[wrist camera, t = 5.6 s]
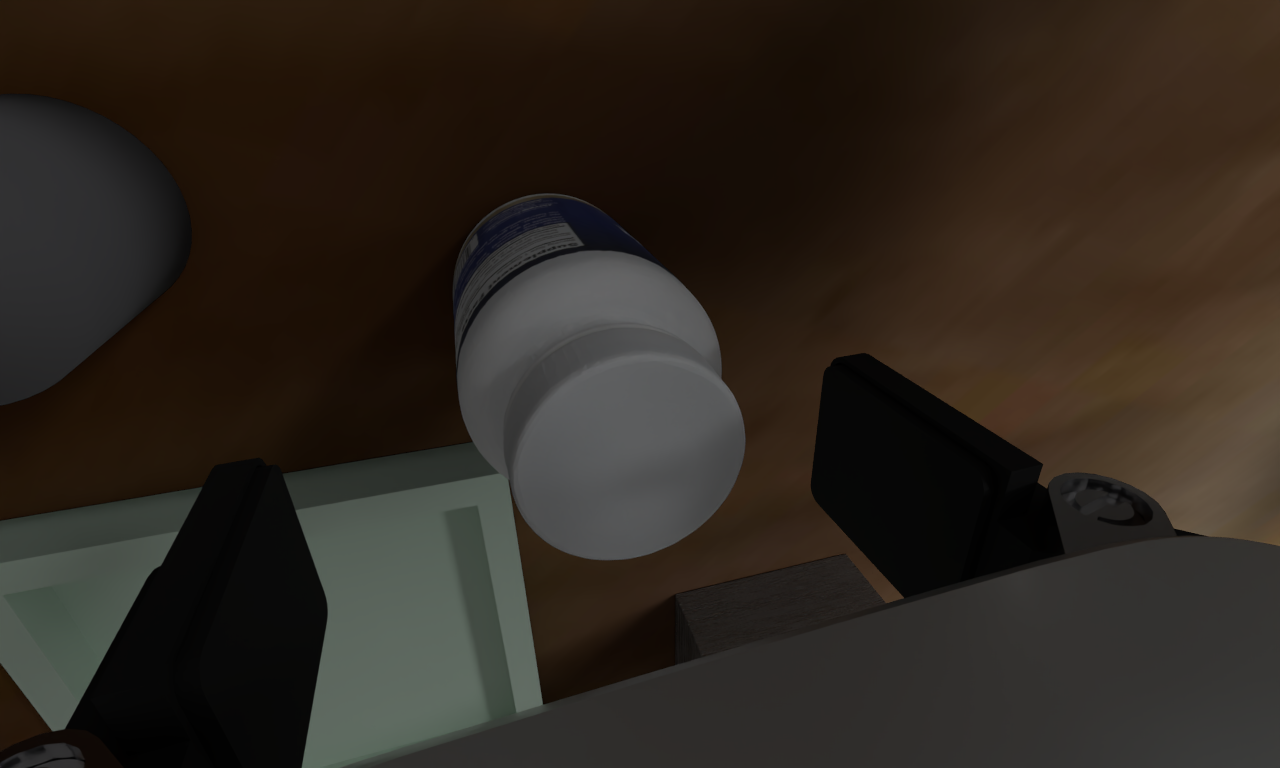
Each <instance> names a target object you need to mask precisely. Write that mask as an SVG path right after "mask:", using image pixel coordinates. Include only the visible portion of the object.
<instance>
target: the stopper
mask: <svg viewBox="0 0 1280 768" xmlns="http://www.w3.org/2000/svg"><path fill="white" fill-rule="evenodd" d="M191 244H192V228H191V221H190V215H189V212H188V209H187V205H186V202H185V200H184V198H183V195H182V193H181V191H180V189H179V187H178V185H177V184H176V182H175V180H174V179H173V177H172V175H171V174H170V173H169V171H168V170H167V169H166V167H165V166H164V165H163V163H162V162H161V161H160V160H159V159H158V158H157V157H156V156H155V155H154V154H153V152H152V151H151V150H150V149H149V148H147V147H146V146H145V145H144V144H143V143H142V142H141V141H139V140H138V139H137V138H136V137H135V136H133V135H132V134H131V133H129V132H128V131H126V130H125V129H124V128H122V127H121V126H119V125H118V124H116V123H114V122H112V121H111V120H109V119H107V118H106V117H104V116H102V115H100V114H97V113H95V112H93V111H91V110H89V109H87V108H84V107H81V106H79V105H76V104H73V103H70V102H67V101H63V100H59V99H55V98H51V97H46V96H39V95H31V94H1V95H0V405H5V404H10V403H13V402H16V401H20V400H23V399H26V398H29V397H31V396H33V395H35V394H38V393H40V392H42V391H44V390H46V389H48V388H49V387H51V386H52V385H54V384H56V383H57V382H59V381H60V380H61V379H62V378H64V377H65V376H66V375H67V374H68V373H70V372H71V371H72V370H73V369H74V368H75V367H77V366H78V365H79V364H80V363H81V362H83V361H84V360H85V359H86V358H87V357H88V356H90V355H91V354H92V353H93V352H94V351H96V350H97V349H98V348H99V347H100V346H101V345H103V344H104V343H105V342H106V341H107V340H109V339H110V338H111V337H112V336H113V335H114V334H116V333H117V332H118V331H119V330H120V329H122V328H123V327H124V326H125V325H126V324H127V323H129V322H130V321H131V320H132V319H133V318H135V317H136V316H137V315H138V314H139V313H140V312H142V311H143V310H144V309H145V308H146V307H148V306H149V305H150V304H151V303H152V302H153V301H155V300H156V299H157V298H158V297H159V296H161V295H162V294H163V293H164V292H165V291H166V290H168V289H169V288H170V287H171V286H172V285H173V284H174V282H175V281H176V280H177V279H178V278H179V276H180V275H181V273H182V271H183V269H184V268H185V266H186V263H187V260H188V258H189V254H190V249H191Z"/></svg>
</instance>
